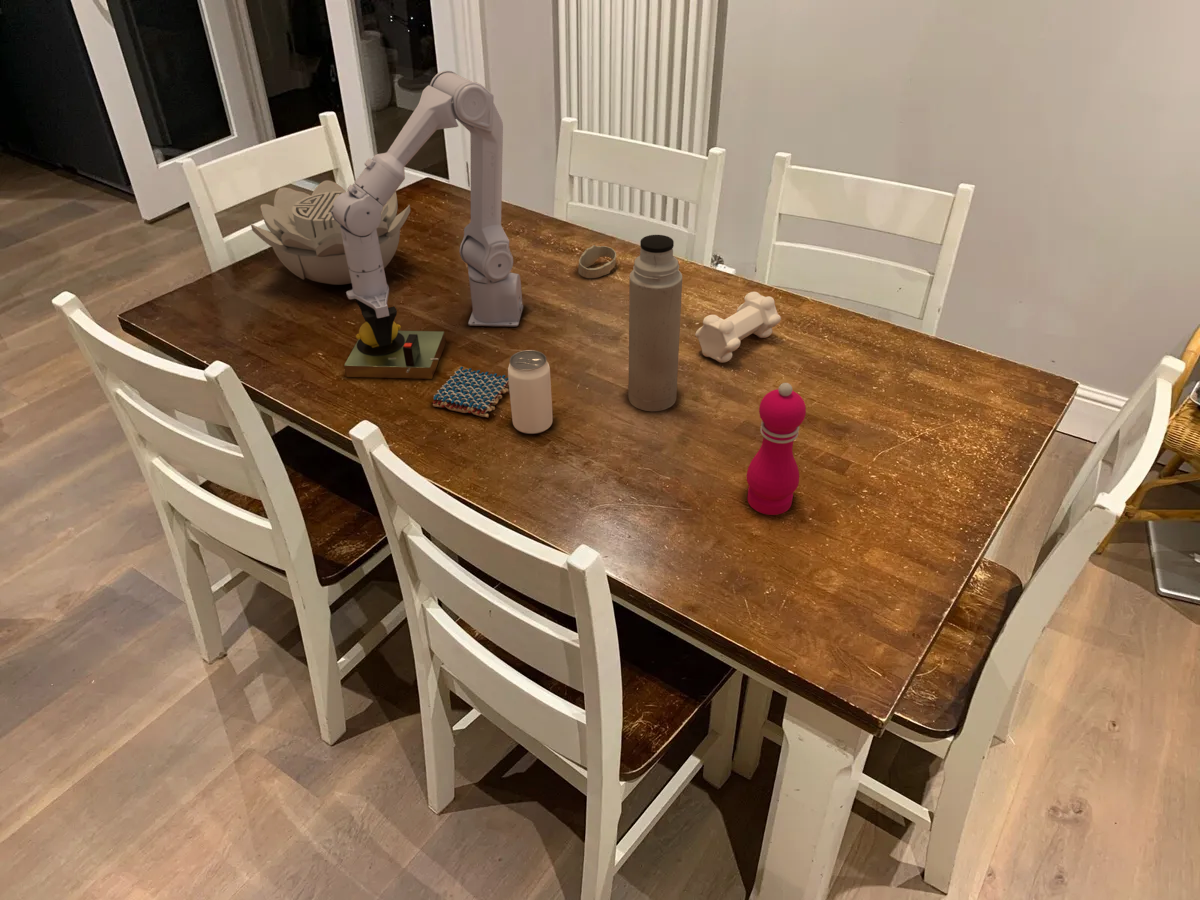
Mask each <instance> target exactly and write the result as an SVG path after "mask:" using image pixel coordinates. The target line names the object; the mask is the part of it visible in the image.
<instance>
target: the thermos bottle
mask: <svg viewBox="0 0 1200 900" xmlns="http://www.w3.org/2000/svg"><path fill="white" fill-rule="evenodd" d="M639 244H640V246H639V247H640V251H639V255H638V256H637V257H636V258H635V259H634V262H633V263H634V264H633V267H632V270H631V271H630V273H629V280H628V281H629V285H628V286H629V288H628V289H629V297H628V298H629V299H628V300H629V302H628V303H629V305H628V306H629V307H628V385H627V386H628V389H627V390H628V392H627V395H628V396H627V399H628V401H629V403H630V404H631V405H632V406H633V407H635V408H636V409H639V410H642V411H646V412H660V411H665V410H667V409H669V408H671V407H672V406H673V405H674V404H675V403H676V401H677V395H678V394H677V392H678V374H679V373H678V372H679V356H680V355H679V353H680V335H681V317H682V316H681V315H682V314H681V313H682V297H683V296H682V294H683V293H682V292H683V274H682V272H681V271H680V270H679V269H680V264H679V260H678V258H677V257H675V255H674V247H675V246H674V244H675V241H674V240H673V238H671V237H670V236H668V235H663V234H649V235H645V236H643V237H642V238H640V243H639Z"/></svg>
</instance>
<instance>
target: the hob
mask: <svg viewBox="0 0 1200 900" xmlns="http://www.w3.org/2000/svg"><path fill="white" fill-rule="evenodd" d="M398 333H400V334H402V335H403V336H404V338H405V342H406V340H407V338H408V336H409V334H417V335H418V341H419V347H420V354H419V356H418V358H417V361H416V363H415V365H414V366H406V363H405V358H404V352H403V346H404V345H403V346H402V347H401V348H400V349H399V350H397V351H395V352H393V353H390V354H386V355H380V356H371V355H366V354H363V353H361V352H360V351H359V350H358V348H357V343H358V341H359V340H360V339H357V341H356V343H355V345H354V346H353V348H352V350H351V352H350V354H349V356H348V358H347V359H346V361H345V363H344V366H343V367H344V371H345V377H346V378H366V379H367V378H370V379H371V378H372V379H410V380H411V379H414V380H418V379H419V380H432V379H433V378H434V375H435V373H436V370H437V367H438V364H439V362H440V359H441V357H442V354H443V352H444V349H445V346H446V344H447V341H446V333H445V331H436V330H435V331H431V330H430V331H429V330H398ZM404 344H405V343H404Z"/></svg>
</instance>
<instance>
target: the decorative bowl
mask: <svg viewBox="0 0 1200 900" xmlns="http://www.w3.org/2000/svg"><path fill="white" fill-rule="evenodd" d="M346 191H347V190H345V188H344V187H342V186H341V185H340V184H339V183H337V182H335V181H332V180H328V179H326V180H323V181H321V182H320V183H319V184H318V185H316V187H315V188H314V189H313V191H312V194H311V195H310V194H309V193H307V192H303V191H300V190H299V191H298V190H295V189H293V188H290V187H280V188H279V189H277V191H276V192H275V195H274V199H273V205H271V204H267V203H262V204H260V211H261V215H262V218H263V221H264V224H265V226H266V228H267V229H268V230H267V229H264V228H261V227H258V226H256V225H254V224H253V223H250V228H251V231H252V232H253V233H254V234H255V235H256V236H257V237H259V239H261V240H262V241H263V242H264V243H266V244H268V245H269V247H271V248H272V249H273V252H274V254H275V256H276V257H277V259H278V260H279V261H280V262H281V263H282V264H283V266H284V267H285V268H286V269H287V270H288V271H289V272H291V273H292V274H293V275H295V276H296V277H298V278H299V279H301V280H305V279H307V280H310V281H312V282H316V283H321V284H327V285H333V286H334V285H335V286H337V285H338V286H340V285H341V286H342V285H349V284H352V283H351V278H350V273H349V269H348V264H347V259H346V255H345V250H344V245H343V239H342V234H341V229H340V226H341V225H340V224H339V223H337V222H336V221H335V220H334V218H333V217H332V215H331V211H332V210H333V208H334V206H333V203H334V201H335V199H336V198H337V197H338V196H339V195H340V194H341V193H345V192H346ZM398 205H399V204H398V197H397V190H396V191H395V193H394V194H393V195H392V197H391V198H390V199H389V201H388V202H387V203H386V204H385V206H383V205H382V206H383V208H382V209H383V210H382V212H381V221H380V225H379V227H378V228H376V230H377V235H378V239H379V245H380V250H381V256H382V261H383V266H384V269H385V268H387V266H388V265H389V264H390V262H391V261H392V259H393V258H394V256H395V254H396V252H397V249H398V247H399V242H400V236H401V229H402V227H403V226H404V224H405V223H406V221H407V219H408V217H409V215H410V213H411V205H410V203H409V204H408V205H407V207H406V208H404V210H402V211H401V212H400V213H397V212H398V208H399V206H398Z"/></svg>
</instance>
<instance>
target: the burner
mask: <svg viewBox="0 0 1200 900" xmlns="http://www.w3.org/2000/svg"><path fill="white" fill-rule="evenodd" d="M357 341H358V340H357ZM356 343H357V342H356ZM404 343H405V338H404V336H403V335H402V334H400V333H398V334H397V336H396V338H395V339H394V340H393V341H392V343H391V344H390V345H386V346H382V347H380V346H377V347H373V348H372V346H369V345H366V344H365V343H363V342H362V341H361V339H360V340H359V341H358V343H357V348H358V350H359V351H360V352H361V353H363V354H366V355H371V356H380V355H386V354H390V353H393V352H395V351H397V350H399V349H400V348H401V347H402V346H403V345H404Z"/></svg>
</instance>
